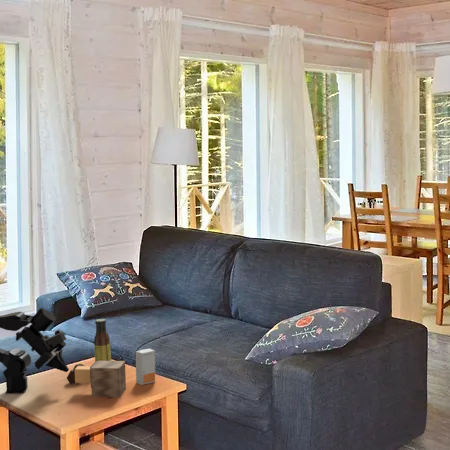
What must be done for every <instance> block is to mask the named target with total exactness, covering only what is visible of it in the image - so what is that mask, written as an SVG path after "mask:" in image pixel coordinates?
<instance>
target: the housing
mask: <svg viewBox="0 0 450 450" xmlns="http://www.w3.org/2000/svg"><path fill="white" fill-rule="evenodd" d="M90 366H91V367H90V378H91V383H90V388H91V397H92V398H93V397H94V398H121V397H122V395H123V394H124V393H125V391H126V390H127V386H126V385H127V384H126V382H127V380H126V377H127V376H126V360H111V361H97V362H95V361H94V362H93V364H91V365H90Z"/></svg>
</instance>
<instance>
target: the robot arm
mask: <svg viewBox="0 0 450 450" xmlns="http://www.w3.org/2000/svg"><path fill="white" fill-rule="evenodd" d="M56 320H57V319H56V316H55V314H54V313H52V312H51V311H49V310H48V309H44V307H40V308H39V309H38V310H37V312H36V313H35V314H34V315H31V314H30V315H29V314H26V313H25V312H23V311H15V312H10V313H7V314H3V315H0V329H3V330H6V331H11V332H16V331H17V332H16V333H15V341H16V342H18V341H19V340H21V339H23V341H24V342H26V343H27V344H28V345H29V346H30V347H31V349H30V350H31V352H34V351H35V352H36V353H37V355H39V358H37V359H36V361H35V362H34V367H35V368H36V369H38V370H41V369H42V368H43V366H44V365H45V367H49V368H52V369H55V370H59V371H61V372H64V373H68V371H69V368H68V366H67V363H66V362H65V360H64V358H63V351H64V350H63V349H64V348H65V346H67V343H66V342H65V341H66V340H67V337H66V333H65V332H64V330H61V329H60V328H59V329H57V330H55V331H54V334H53V335H52V336H49V335H44V334H42V333H43V332H46V331H47V330H48V328H50V327H51V326H52V325H53V324H54V322H55V321H56ZM28 325H29V326H28ZM19 330H21V331H19ZM0 363H1V365H3V366H4V367H5V370H4V371H2V373H3V376H4V378H5V381H6V383H5V384H6V391H5V393H6V394H24V393H25V392H26V390H27V389H28V388H29V387H28V376H26V375H27V374H26V371H27V370H28V367H30V365H31V364H32V358H31V356H30V354H29V353H28V352H27V351H26V350H22V349H20V348H18V347H14V348H13V349H11V350H6V349H3V348H1V347H0Z"/></svg>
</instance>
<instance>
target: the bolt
mask: <svg viewBox="0 0 450 450" xmlns="http://www.w3.org/2000/svg"><path fill="white" fill-rule="evenodd" d="M77 366H85V365H84V364H82V363H77V364H75V365H74V366H73V368H72V370H71V369H70V371H69V372H68V375H67V376H66V380H67V382H68V383H69V384H70V385H79V384H80V383H75V368H76V367H77Z"/></svg>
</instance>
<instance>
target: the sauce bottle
mask: <svg viewBox="0 0 450 450" xmlns="http://www.w3.org/2000/svg"><path fill="white" fill-rule="evenodd" d="M106 324H107V319H106V318H99V319H95V328H96V330H95V335H94V339H93V348H94V349H93V351H94V362H97V361H112V355H111V354H112V353H111V342H110V336H109V333H108V331H107V327H106Z"/></svg>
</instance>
